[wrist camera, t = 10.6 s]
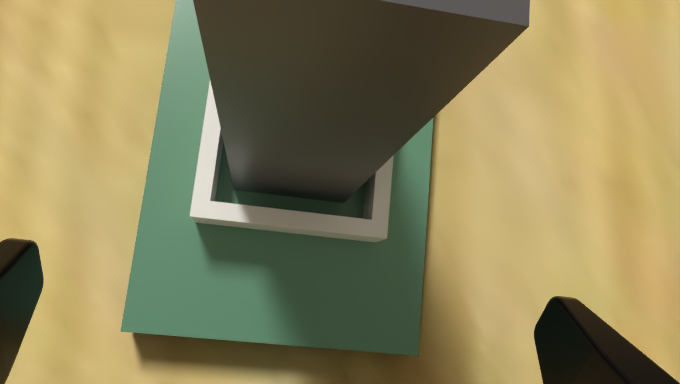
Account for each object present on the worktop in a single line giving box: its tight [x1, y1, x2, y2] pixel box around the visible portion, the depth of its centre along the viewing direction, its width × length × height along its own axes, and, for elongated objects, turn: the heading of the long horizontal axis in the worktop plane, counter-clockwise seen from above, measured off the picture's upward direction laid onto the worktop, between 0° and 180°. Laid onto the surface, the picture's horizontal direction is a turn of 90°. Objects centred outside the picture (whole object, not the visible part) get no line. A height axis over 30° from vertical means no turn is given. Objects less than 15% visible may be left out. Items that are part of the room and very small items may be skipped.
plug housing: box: [193, 0, 530, 203], centre depth 12 cm, size 5×4×12 cm
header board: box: [121, 0, 433, 356], centre depth 17 cm, size 14×9×2 cm, turn 175°
